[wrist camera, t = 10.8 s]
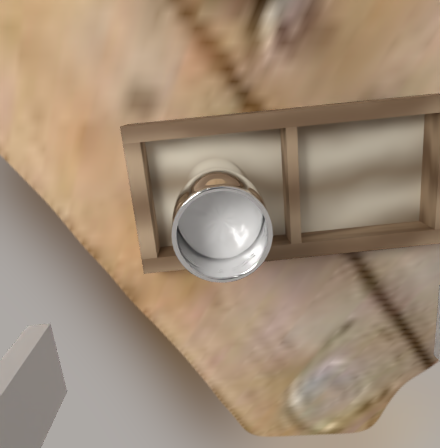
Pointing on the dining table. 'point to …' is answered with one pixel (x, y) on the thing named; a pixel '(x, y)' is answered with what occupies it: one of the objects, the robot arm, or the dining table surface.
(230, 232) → the metal cup
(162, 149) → the tray
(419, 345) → the dining table surface
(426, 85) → the dining table surface
